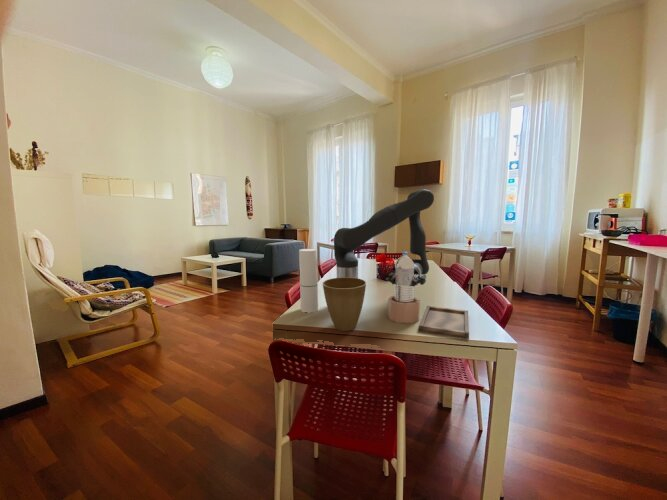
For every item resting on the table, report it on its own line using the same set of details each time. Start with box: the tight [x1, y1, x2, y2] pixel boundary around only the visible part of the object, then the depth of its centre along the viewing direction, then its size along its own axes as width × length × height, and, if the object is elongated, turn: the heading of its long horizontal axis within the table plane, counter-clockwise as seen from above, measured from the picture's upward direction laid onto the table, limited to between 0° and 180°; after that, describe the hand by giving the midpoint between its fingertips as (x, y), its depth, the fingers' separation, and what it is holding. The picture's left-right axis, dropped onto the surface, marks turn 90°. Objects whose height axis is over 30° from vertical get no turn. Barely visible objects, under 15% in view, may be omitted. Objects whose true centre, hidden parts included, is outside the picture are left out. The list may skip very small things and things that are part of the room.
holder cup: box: [387, 295, 421, 324], centre depth 103 cm, size 11×11×7 cm
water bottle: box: [394, 251, 415, 303], centre depth 102 cm, size 7×7×25 cm
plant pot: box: [322, 277, 367, 332], centre depth 94 cm, size 15×15×16 cm
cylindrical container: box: [298, 248, 319, 314], centre depth 111 cm, size 7×7×25 cm
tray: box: [418, 305, 470, 340], centre depth 98 cm, size 15×22×2 cm
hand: (403, 282), depth 99 cm, fingers closed on water bottle, 7 cm apart
